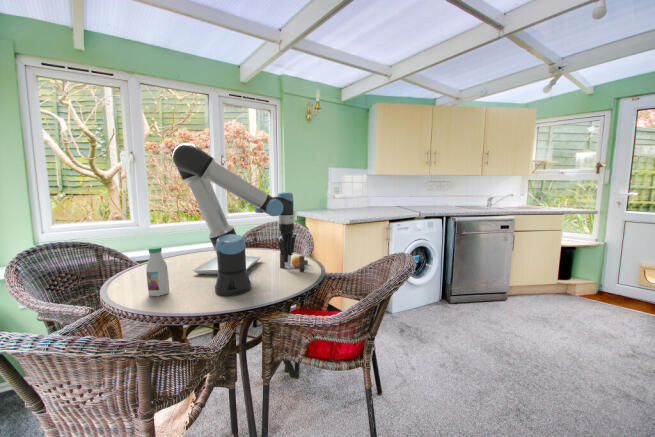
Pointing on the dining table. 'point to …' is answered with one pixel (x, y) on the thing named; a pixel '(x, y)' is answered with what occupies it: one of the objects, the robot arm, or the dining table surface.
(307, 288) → the dining table surface
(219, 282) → the robot arm
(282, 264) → the post left
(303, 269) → the post right
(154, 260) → the milk bottle
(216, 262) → the square plate
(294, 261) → the ball
